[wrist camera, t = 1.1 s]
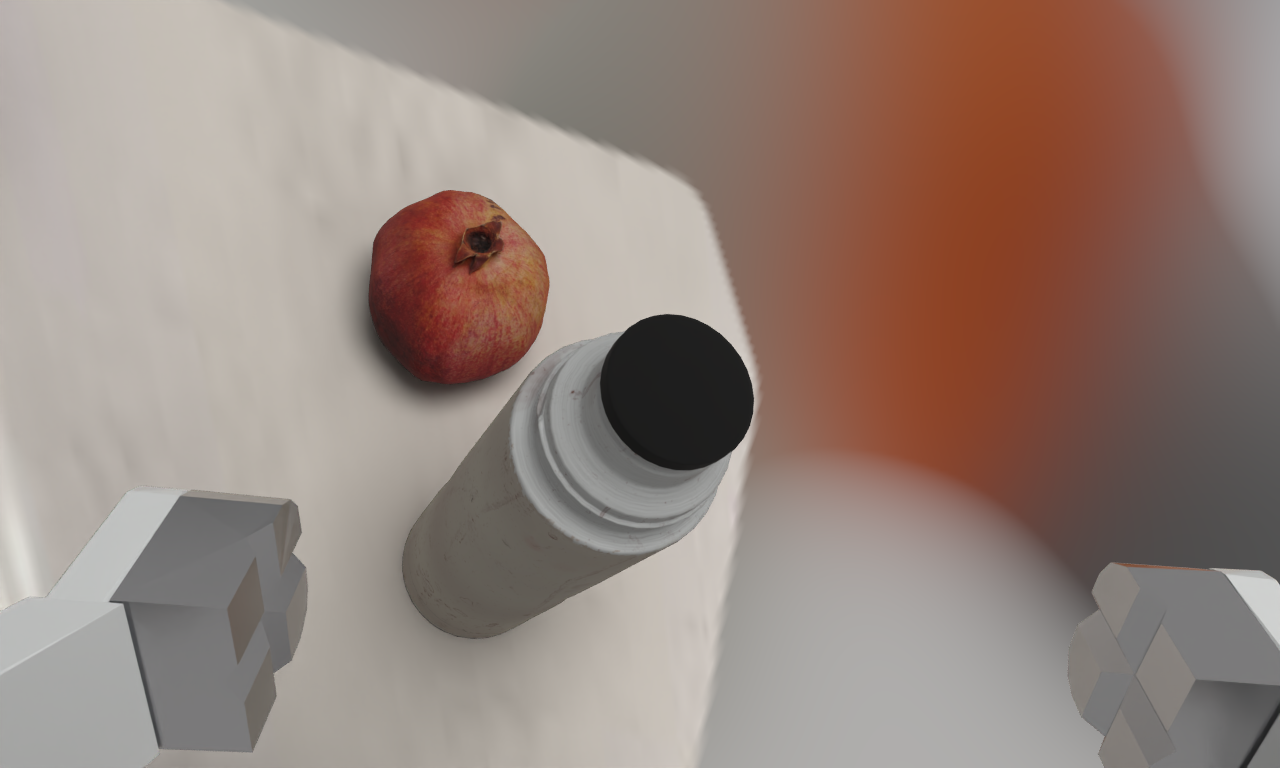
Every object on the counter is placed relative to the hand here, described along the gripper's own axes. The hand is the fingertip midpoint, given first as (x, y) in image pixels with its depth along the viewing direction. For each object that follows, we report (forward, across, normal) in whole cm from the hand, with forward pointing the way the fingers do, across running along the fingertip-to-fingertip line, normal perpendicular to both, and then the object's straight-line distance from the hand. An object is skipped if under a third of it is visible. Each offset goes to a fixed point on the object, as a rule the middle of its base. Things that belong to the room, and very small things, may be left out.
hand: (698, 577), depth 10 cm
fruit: (+44, +11, +21) cm, 50 cm away
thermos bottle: (+34, +8, +30) cm, 46 cm away
